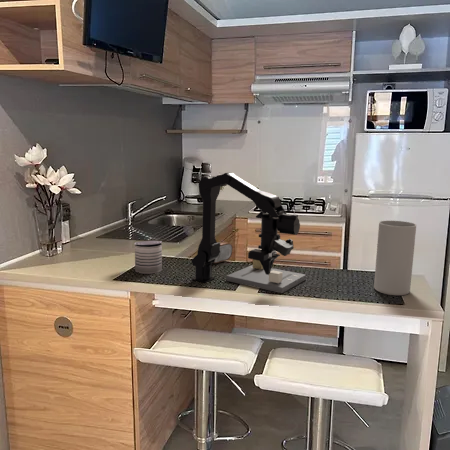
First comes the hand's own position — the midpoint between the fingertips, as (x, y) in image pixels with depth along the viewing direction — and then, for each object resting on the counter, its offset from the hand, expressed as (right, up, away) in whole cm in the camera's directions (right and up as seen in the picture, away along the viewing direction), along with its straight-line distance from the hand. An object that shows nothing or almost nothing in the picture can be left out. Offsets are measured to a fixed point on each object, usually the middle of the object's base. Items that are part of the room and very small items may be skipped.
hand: (267, 274), depth 165 cm
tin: (-17, +1, +41) cm, 45 cm away
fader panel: (+1, -4, +15) cm, 15 cm away
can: (-47, -1, +26) cm, 54 cm away
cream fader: (+3, -3, +6) cm, 7 cm away
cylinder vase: (+46, -7, +5) cm, 47 cm away
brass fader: (-2, 0, +23) cm, 23 cm away
